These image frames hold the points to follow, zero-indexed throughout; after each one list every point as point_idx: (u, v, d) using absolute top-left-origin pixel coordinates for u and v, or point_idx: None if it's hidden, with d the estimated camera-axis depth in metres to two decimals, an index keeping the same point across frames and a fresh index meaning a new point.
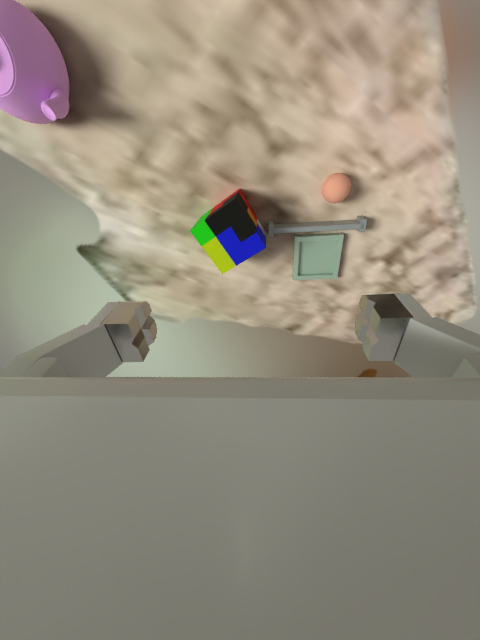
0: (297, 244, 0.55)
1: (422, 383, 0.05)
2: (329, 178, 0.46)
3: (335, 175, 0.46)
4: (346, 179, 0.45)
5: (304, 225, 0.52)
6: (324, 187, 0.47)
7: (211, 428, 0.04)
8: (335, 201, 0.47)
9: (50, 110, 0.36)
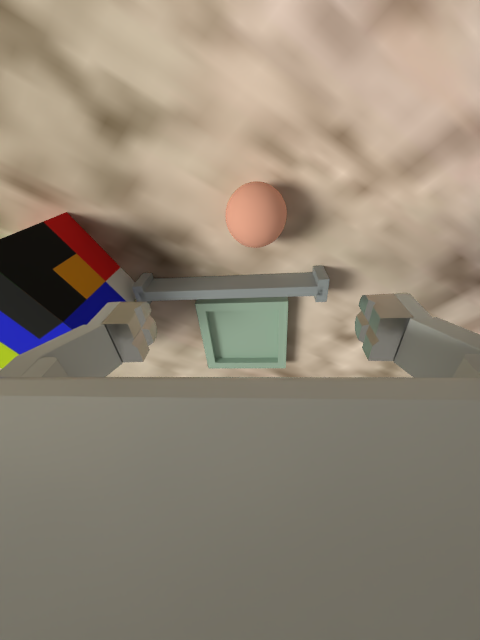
0: (202, 315, 0.29)
1: (422, 383, 0.05)
2: (234, 194, 0.20)
3: (246, 188, 0.19)
4: (269, 197, 0.19)
5: (205, 285, 0.26)
6: (226, 214, 0.20)
7: (211, 428, 0.04)
8: (252, 245, 0.21)
9: None
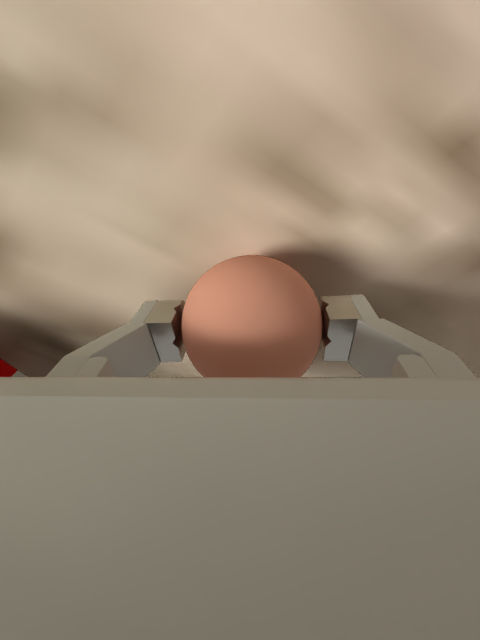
0: None
1: (422, 383, 0.05)
2: (197, 291, 0.08)
3: (224, 281, 0.08)
4: (286, 309, 0.07)
5: None
6: (182, 329, 0.09)
7: (211, 428, 0.04)
8: None
9: None
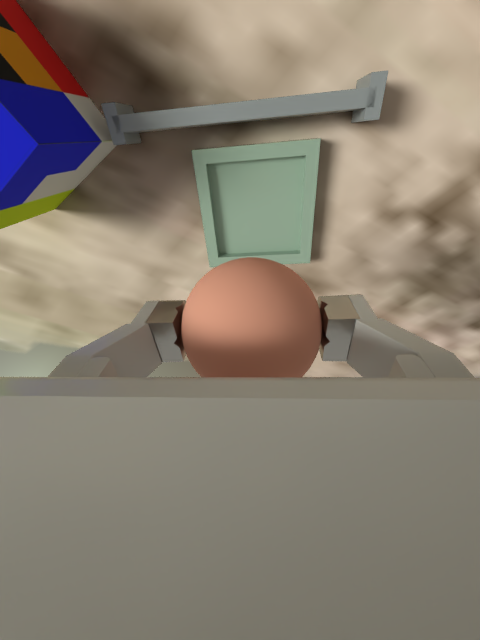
0: (201, 172, 0.21)
1: (422, 383, 0.05)
2: (197, 293, 0.08)
3: (223, 283, 0.08)
4: (285, 312, 0.07)
5: None
6: (181, 331, 0.09)
7: (211, 428, 0.04)
8: None
9: None
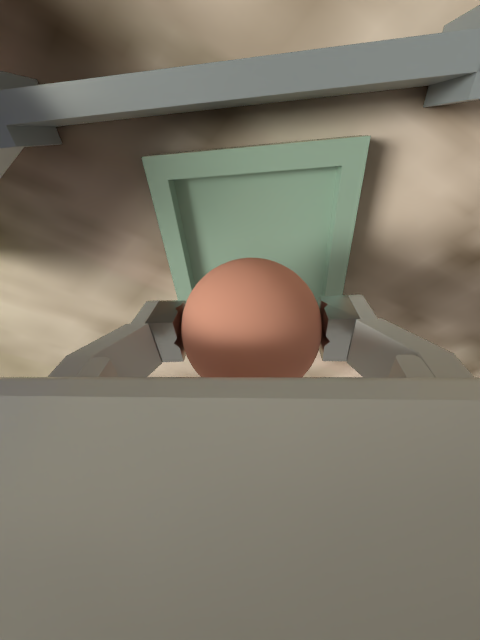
0: (162, 193, 0.13)
1: (422, 383, 0.05)
2: (197, 294, 0.08)
3: (223, 284, 0.08)
4: (285, 312, 0.07)
5: None
6: (181, 332, 0.09)
7: (211, 428, 0.04)
8: None
9: None
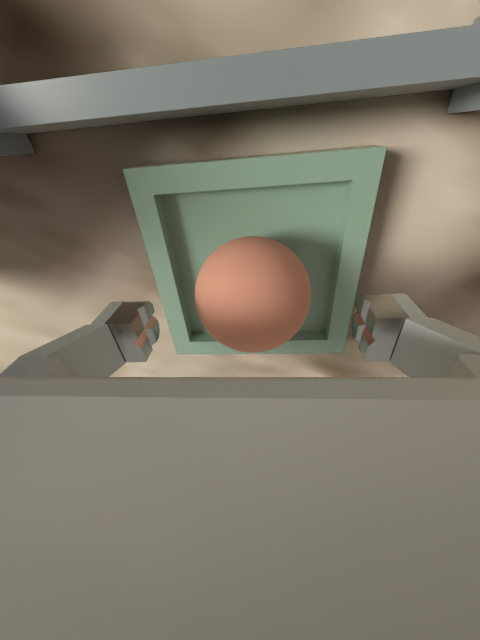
0: (147, 209, 0.11)
1: (422, 383, 0.05)
2: (208, 264, 0.10)
3: (230, 254, 0.09)
4: (279, 275, 0.09)
5: None
6: (195, 297, 0.11)
7: (211, 428, 0.04)
8: None
9: None
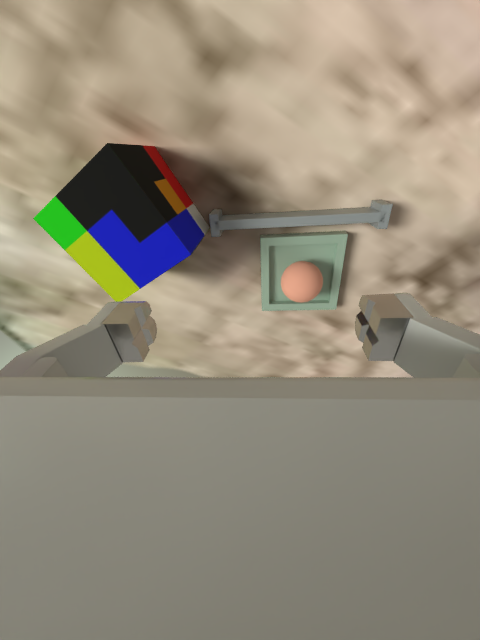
0: (265, 250, 0.31)
1: (422, 383, 0.05)
2: (289, 270, 0.30)
3: (297, 267, 0.29)
4: (313, 274, 0.29)
5: (274, 215, 0.28)
6: (282, 281, 0.31)
7: (211, 428, 0.04)
8: (298, 301, 0.31)
9: None
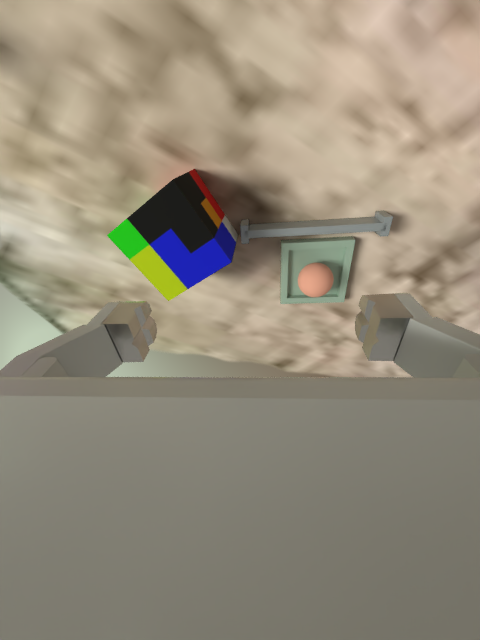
0: (285, 254, 0.37)
1: (422, 383, 0.05)
2: (305, 270, 0.36)
3: (312, 268, 0.35)
4: (326, 274, 0.35)
5: (294, 225, 0.34)
6: (299, 280, 0.37)
7: (211, 428, 0.04)
8: (312, 296, 0.37)
9: None
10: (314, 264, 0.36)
